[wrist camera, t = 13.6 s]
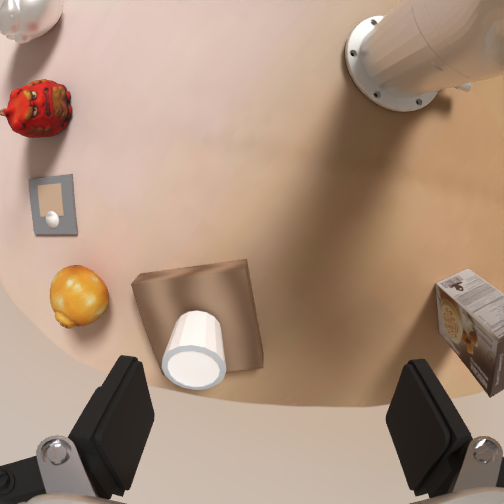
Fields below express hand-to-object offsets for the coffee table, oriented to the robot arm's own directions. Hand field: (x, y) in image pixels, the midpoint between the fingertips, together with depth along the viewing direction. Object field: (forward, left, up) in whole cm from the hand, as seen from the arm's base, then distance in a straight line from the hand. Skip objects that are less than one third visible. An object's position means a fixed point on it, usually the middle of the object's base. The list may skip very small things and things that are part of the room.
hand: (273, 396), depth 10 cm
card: (+29, -2, -28) cm, 41 cm away
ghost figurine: (+31, -30, -28) cm, 52 cm away
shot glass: (+8, +13, -25) cm, 29 cm away
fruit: (+24, +9, -28) cm, 38 cm away
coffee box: (-28, +11, -28) cm, 41 cm away
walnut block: (+8, +13, -29) cm, 33 cm away
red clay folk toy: (+28, -15, -29) cm, 43 cm away
